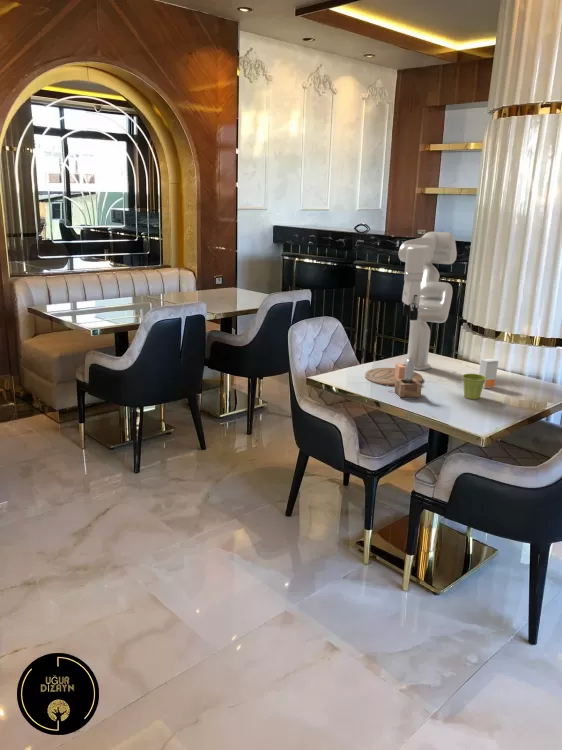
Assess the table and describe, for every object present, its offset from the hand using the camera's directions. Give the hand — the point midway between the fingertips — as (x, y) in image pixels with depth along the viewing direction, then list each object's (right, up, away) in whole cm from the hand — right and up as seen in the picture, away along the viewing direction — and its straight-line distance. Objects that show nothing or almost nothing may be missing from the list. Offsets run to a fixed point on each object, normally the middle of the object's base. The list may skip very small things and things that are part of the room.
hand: (409, 317), depth 260 cm
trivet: (-5, -26, +13) cm, 30 cm away
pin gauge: (-3, -31, -10) cm, 33 cm away
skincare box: (+34, -29, +5) cm, 45 cm away
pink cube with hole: (-1, -26, +8) cm, 27 cm away
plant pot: (+23, -33, -10) cm, 42 cm away
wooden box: (-3, -33, -10) cm, 34 cm away
